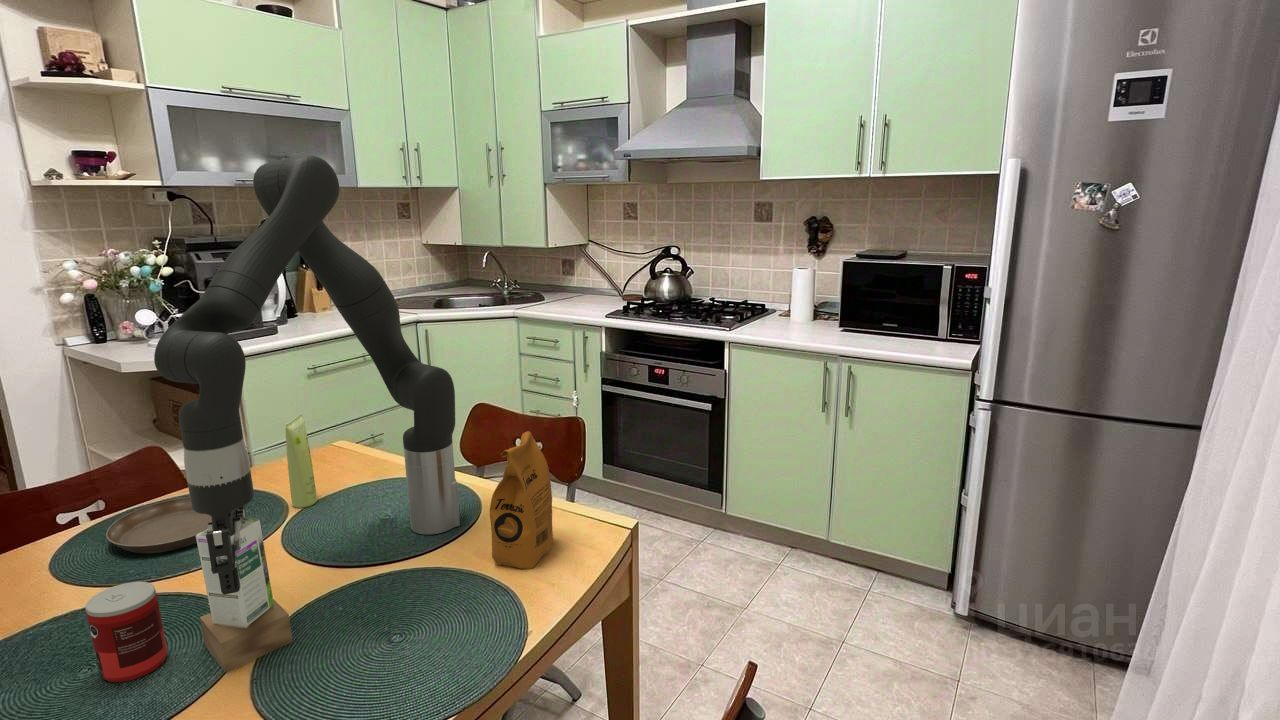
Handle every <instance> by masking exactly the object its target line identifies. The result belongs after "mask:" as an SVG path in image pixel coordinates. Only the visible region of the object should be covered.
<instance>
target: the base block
mask: <svg viewBox="0 0 1280 720" xmlns="http://www.w3.org/2000/svg"><path fill="white" fill-rule="evenodd" d="M273 602H274V605H273V606H272V607H271V608H270V609H268V610H267V611H266V612H265V613H263V614H262V615H261V616H260V617H259V618H257V619H256V620H255V621H253V622H252V623H251V624H250V625H249V626H248V627H247V628H239V627H232V626H224V625H219V624H214V623H213V621H212V616H211V612H209V613H207V614H205V615H202V616H200V617H199V620H200V625H201V632H202V637H203V643H204V646H205V647H206V649H207V650H208V652H210V653H209V654H211V656H212V657H213V658H214V660H215V661H216V663H218V665H219V666H220V667H221V668H222V670H223V671H224V673H226V674H227V673H228V672H230V671H232V670H236V669H237V668H239V667H242V666H244V665H246V664H248V663H250V662H252V661H253V660H256V659H258V658H261V657H263V656H265V655H268V654H269V653H271V652H275V651H276V650H278V649H280V648H283V647H284V646H286V645H289V644H291V643H293V642H294V641H293V635H292V625H291V621H290V620H291V619H290V614H289V613H288V612H287V611H286V610H285V609H284V608H283V607H282V605H280V604H279V603H278V602H277V601H276V600H275V599H274V598H273Z"/></svg>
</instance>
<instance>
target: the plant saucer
mask: <svg viewBox="0 0 1280 720" xmlns="http://www.w3.org/2000/svg"><path fill="white" fill-rule="evenodd" d="M209 522H212V516H210V515H207V514H200V513H197V512H195V511H194V510H193V509H192V505H191V499H190V496H188V497H187V496H186V497H180V498H179V497H178V498H174V499H170V500H165V501H162V502H157V503H154V504H150V505H147V506H144V507H142V508H139V509H136V510H134V511H132V512H129V513H127V514H125V515H123V516H122V517H120V518H118V519H117V520H115V521H114V522H113V523H112V524H111V525H110V526H109V527H108V529H107V531H106V532H105V533H106V534H105V537H106V538H107V539H106V540H108V541H109V543H111V544H112V545H114V546H115V547H118V548H119V549H122V550H125V551H127V552H130V553H131V552H132V553H136V554H156V553H157V554H158V553H165V552H170V551H174V550H175V551H176V550H179V549H183V548H186V547H189V546H192V545H194V544H197V540H196V535H197V534H199V533H201V532H203V531H205V530H206V529H208V523H209Z"/></svg>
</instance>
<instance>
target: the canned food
mask: <svg viewBox="0 0 1280 720" xmlns="http://www.w3.org/2000/svg"><path fill="white" fill-rule="evenodd" d="M85 615H86V619H87V624H88V627H89V628H88V629H89V632H90V637H91V642H92V647H93V650H94V654H95V655H94V656H95V659H96V663H97V668H98V673H99V674H100V675H101V677H102V678H103V680H105V681H107V682H110V683H111V682H112V683H121V682H122V683H123V682H124V683H125V682H129V681H134V680H136V679H139V678H142V677H144V676H146V675H148V674H150V673H152V672H153V671H155V670H157V669H158V668H159V667H160V666H161V665H163V663H164V662H165V660H166V659H167V658H166V657H167V653H168V648H167V642H166V641H167V640H166V637H165V630H164V626H163V621H162V615H161V610H160V605H159V599H158V595H157V590H156V588H155V585H154V584H153V583H151V582H146V581H132V582H125V583H122V584H118V585H114V586H111V587H108V588H106V589H103V590H102V591H100V592H97V593H96V594H94V595H93V596H92V597H91V598H89V599H88V600H87V602H86V603H85Z"/></svg>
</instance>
